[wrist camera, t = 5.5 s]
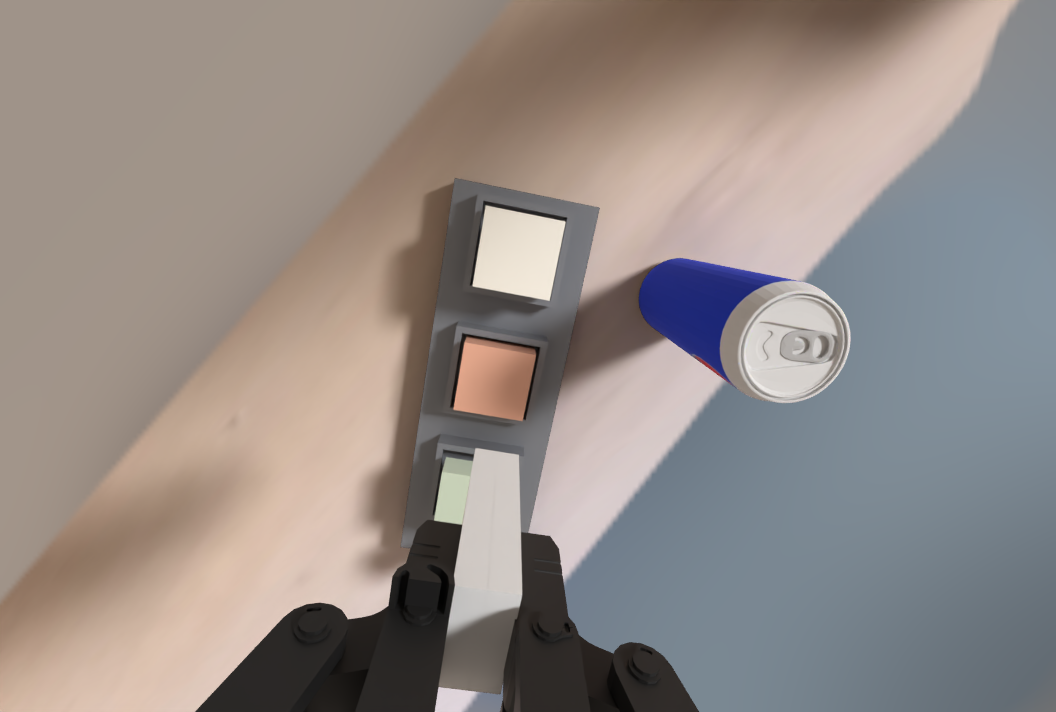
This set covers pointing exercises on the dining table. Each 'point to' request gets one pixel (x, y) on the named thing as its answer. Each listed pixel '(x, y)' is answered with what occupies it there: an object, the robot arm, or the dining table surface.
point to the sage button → (453, 490)
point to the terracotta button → (494, 378)
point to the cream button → (518, 253)
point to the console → (501, 321)
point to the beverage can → (749, 327)
